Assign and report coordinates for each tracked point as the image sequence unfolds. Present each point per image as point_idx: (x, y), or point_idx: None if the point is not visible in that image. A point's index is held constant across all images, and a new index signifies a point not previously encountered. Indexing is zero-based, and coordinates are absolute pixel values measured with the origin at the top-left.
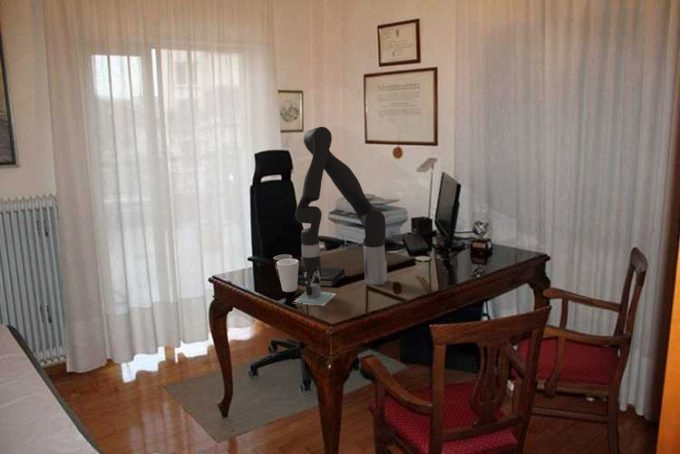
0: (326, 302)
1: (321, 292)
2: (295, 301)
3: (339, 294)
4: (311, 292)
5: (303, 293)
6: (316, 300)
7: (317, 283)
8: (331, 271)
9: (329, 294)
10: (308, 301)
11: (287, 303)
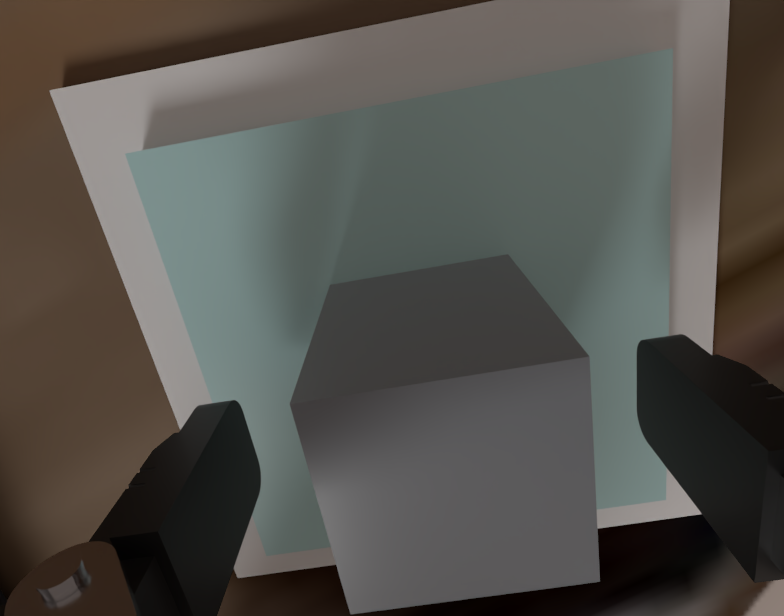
0: (556, 6)
1: (216, 337)
2: (640, 506)
3: (23, 24)
4: (698, 358)
5: (322, 563)
6: (610, 208)
7: (208, 500)
8: None
9: (230, 137)
10: (665, 323)
11: (687, 560)
